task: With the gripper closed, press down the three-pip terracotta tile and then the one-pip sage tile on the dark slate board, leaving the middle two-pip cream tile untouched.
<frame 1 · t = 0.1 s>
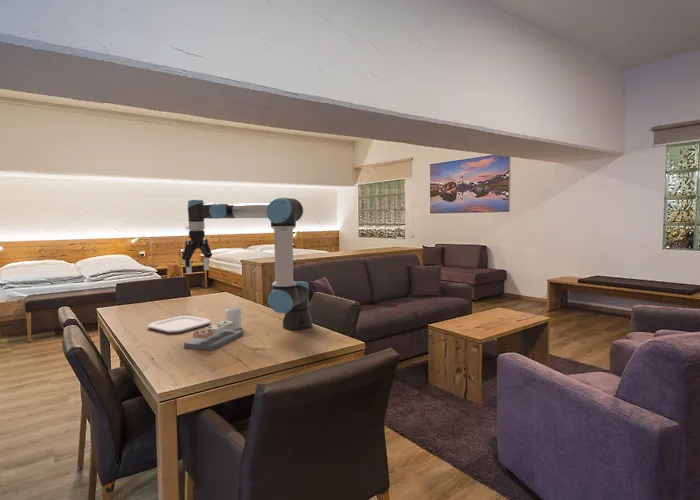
hand: (198, 271, 211), 28 cm above the table, fingers open, 13 cm apart
white cup: (234, 328, 208), on the table
tile two: (214, 328, 186), point 6 cm above the table, slide at 0.0 cm
tile one: (225, 324, 194), point 6 cm above the table, slide at 0.0 cm
board: (215, 340, 187), on the table
tile three: (203, 333, 179), point 6 cm above the table, slide at 0.0 cm
plate: (179, 327, 212), on the table
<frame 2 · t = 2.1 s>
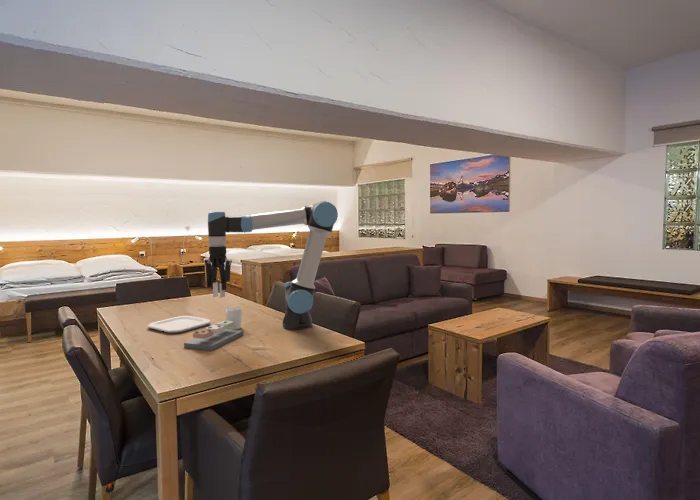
hand: (219, 296, 189), 20 cm above the table, fingers open, 3 cm apart
nothing on the table moved.
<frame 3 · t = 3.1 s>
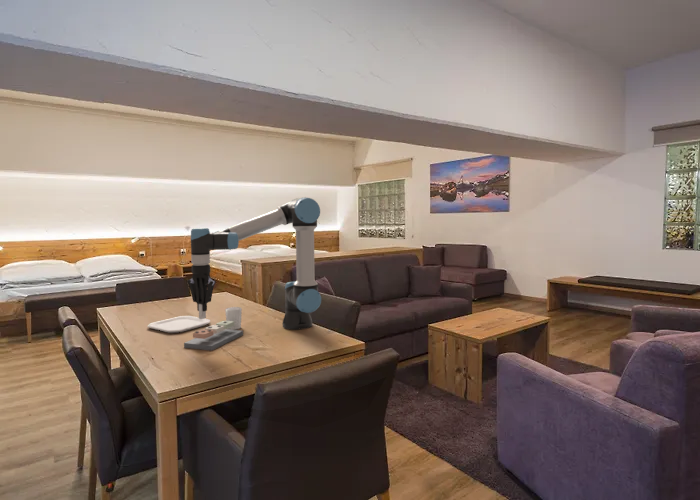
hand: (202, 318, 178), 12 cm above the table, fingers closed
nothing on the table moved.
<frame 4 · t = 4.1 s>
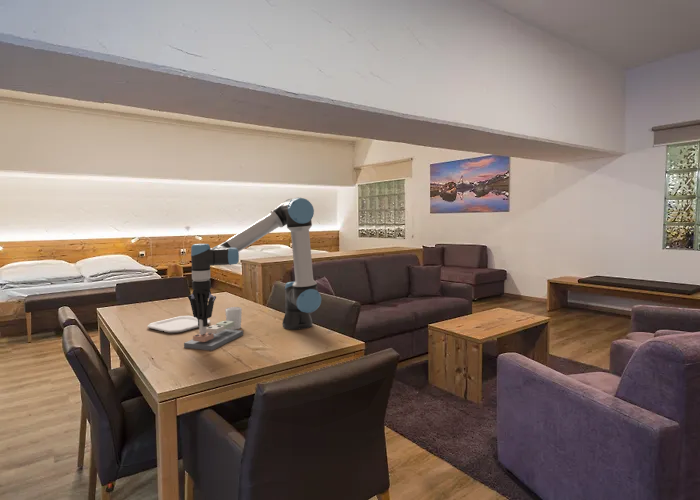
hand: (203, 333, 179), 6 cm above the table, fingers closed
tile three: (203, 336, 179), point 4 cm above the table, slide at 1.4 cm, touching gripper
everything else where it was.
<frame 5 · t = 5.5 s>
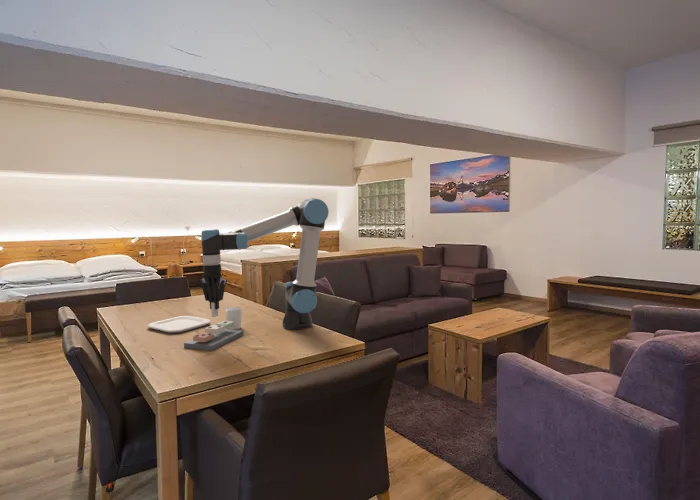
hand: (215, 316, 185), 12 cm above the table, fingers closed
tile three: (203, 337, 179), point 4 cm above the table, slide at 1.5 cm
everything else where it was.
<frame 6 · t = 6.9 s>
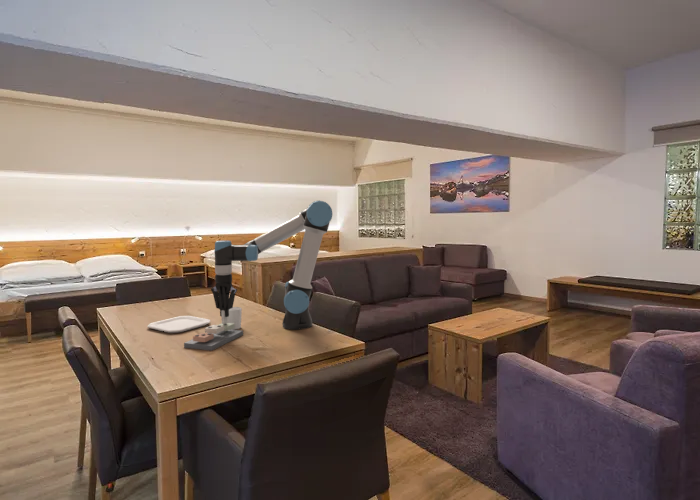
hand: (224, 323, 194), 6 cm above the table, fingers closed
tile one: (225, 326, 194), point 5 cm above the table, slide at 1.0 cm, touching gripper
everything else where it was.
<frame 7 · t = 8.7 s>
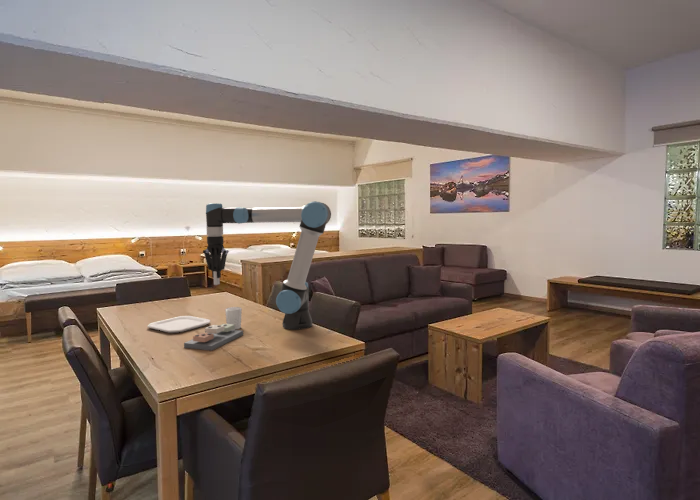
hand: (216, 284, 200), 23 cm above the table, fingers closed
tile one: (225, 327, 194), point 4 cm above the table, slide at 1.5 cm
everything else where it was.
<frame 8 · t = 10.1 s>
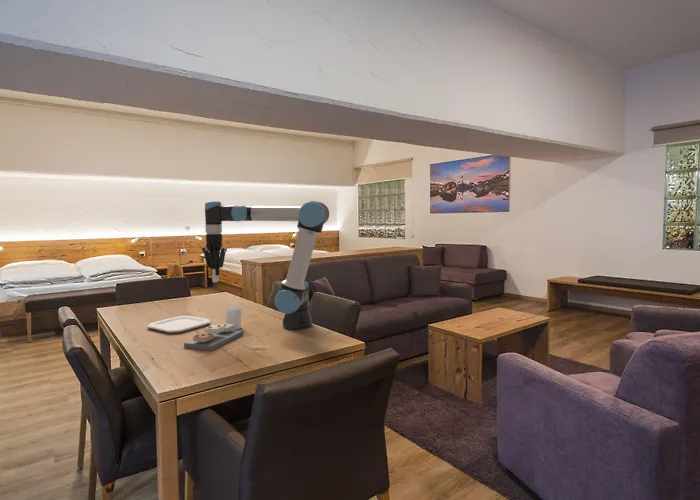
hand: (215, 281, 201), 24 cm above the table, fingers closed
nothing on the table moved.
at the end: tile three slide at 1.5 cm; tile one slide at 1.5 cm; tile two slide at 0.0 cm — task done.
